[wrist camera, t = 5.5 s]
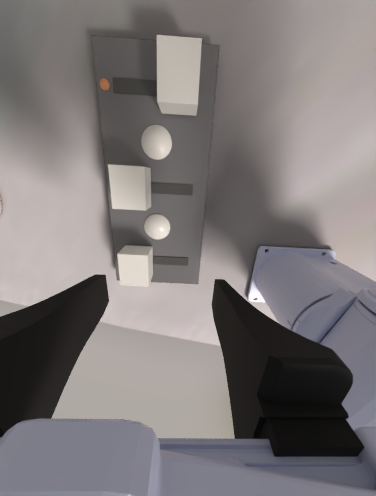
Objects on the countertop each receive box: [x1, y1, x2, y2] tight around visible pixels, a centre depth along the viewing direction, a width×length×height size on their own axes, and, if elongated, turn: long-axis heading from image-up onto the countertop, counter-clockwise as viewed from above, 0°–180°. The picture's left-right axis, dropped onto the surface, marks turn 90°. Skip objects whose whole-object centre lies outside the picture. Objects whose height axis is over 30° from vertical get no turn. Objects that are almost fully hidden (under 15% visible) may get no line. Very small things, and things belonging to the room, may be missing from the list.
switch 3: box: [157, 35, 202, 116], centre depth 14 cm, size 3×4×2 cm
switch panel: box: [91, 35, 220, 284], centre depth 19 cm, size 10×22×2 cm, turn 177°
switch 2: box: [117, 245, 153, 287], centre depth 19 cm, size 3×4×2 cm
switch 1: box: [108, 164, 151, 211], centre depth 16 cm, size 3×4×2 cm
